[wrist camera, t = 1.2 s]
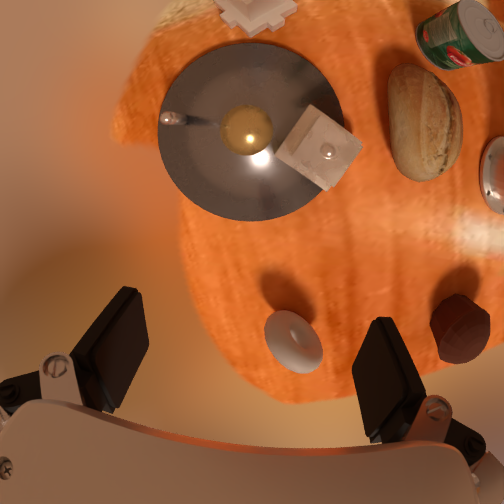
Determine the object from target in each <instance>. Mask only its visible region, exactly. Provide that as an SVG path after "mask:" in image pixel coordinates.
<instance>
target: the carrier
mask: <svg viewBox="0 0 504 504" xmlns="http://www.w3.org/2000/svg"><path fill="white" fill-rule="evenodd" d="M158 143H159V149H160V153H161V157H162V160H163V163H164V165H165V168H166V170H167V172H168V174H169V175H170V177H171V179H172V180H173V182H174V183H175V184H176V186H177V187H178V188H179V189H180V191H181V192H182V193H183V194H184V195H185V196H186V197H188V198H189V199H190V200H191V201H192V202H194V203H195V204H196V205H198V206H200V207H201V208H203V209H204V210H206V211H209V212H211V213H213V214H215V215H218V216H221V217H224V218H228V219H232V220H238V221H264V220H270V219H274V218H278V217H281V216H284V215H287V214H289V213H291V212H294V211H296V210H297V209H299V208H301V207H303V206H304V205H306V204H307V203H308V202H310V201H311V200H312V199H313V198H315V197H316V196H317V195H318V194H319V193H320V192H321V191H322V190H323V189H324V190H325V191H326V192H327V191H328V190H329V188H330V187H331V185H332V186H333V187H334V186H335V185H336V184H337V182H338V181H339V180H340V178H341V177H342V176H343V174H344V173H345V171H346V170H347V169H348V167H349V166H350V164H351V163H352V162H353V160H354V159H355V157H356V156H357V155H358V153H359V152H360V150H361V149H362V148H363V146H361V144H362V142H361V141H360V140H359V139H357V138H356V137H355V136H353V135H352V134H351V133H350V132H348V131H347V130H346V129H344V120H343V114H342V110H341V107H340V104H339V101H338V98H337V96H336V94H335V92H334V90H333V88H332V87H331V85H330V84H329V82H328V81H327V79H326V78H325V77H324V76H323V75H322V74H321V73H320V71H319V70H318V69H317V68H315V67H314V66H313V65H312V64H311V63H310V62H308V61H307V60H305V59H304V58H302V57H301V56H299V55H297V54H295V53H293V52H291V51H289V50H286V49H284V48H280V47H277V46H274V45H268V44H262V43H241V44H234V45H229V46H225V47H222V48H219V49H216V50H214V51H211V52H209V53H207V54H205V55H204V56H202V57H200V58H199V59H197V60H196V61H194V62H193V63H192V64H190V65H189V66H188V67H187V68H186V69H185V70H184V71H183V72H182V73H181V74H180V75H179V76H178V78H177V79H176V80H175V81H174V83H173V84H172V86H171V87H170V89H169V91H168V93H167V95H166V97H165V99H164V101H163V104H162V108H161V111H160V115H159V121H158Z"/></svg>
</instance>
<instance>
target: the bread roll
mask: <svg viewBox="0 0 504 504" xmlns="http://www.w3.org/2000/svg"><path fill="white" fill-rule="evenodd" d="M388 111H389V127H390V142H391V150H392V155H393V159H394V162H395V164H396V166H397V169H398V170H399V171H400V172H401V173H402V174H403V175H404V176H406V177H407V178H409V179H411V180H414V181H417V182H423V181H429V180H432V179H434V178H436V177H438V176H439V175H442V174H443V173H444V172H446V171H447V170H448V169H449V168H450V167H452V165H453V164H454V163H455V162H456V160H457V158H458V156H459V154H460V151H461V146H462V140H463V122H462V114H461V110H460V107H459V104H458V101H457V100H456V98H455V96H454V94H453V93H452V92H451V90H450V89H449V88H448V87H447V85H446V84H445V83H444V82H442V81H441V80H440V79H439V78H438V77H437V76H436V75H435V74H434V73H433V72H429V71H427V70H425V69H423V68H421V67H419V66H417V65H414V64H410V63H404V64H400V65H398V66H397V67H395V68H394V69H393V70H392V72H391V74H390V77H389V80H388Z"/></svg>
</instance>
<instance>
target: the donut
mask: <svg viewBox="0 0 504 504" xmlns="http://www.w3.org/2000/svg"><path fill="white" fill-rule="evenodd" d="M264 331H265V339H266V342H267V345H268V347H269V349H270V351H271V352H272V354H273V356H274V357H275V358H276V359H277V360H278V361H279V362H280V363H281V364H282V365H283V366H285V367H286V368H287V369H289V370H291V371H294V372H296V373H310V372H312V371H313V370H315V369H317V368H318V367H319V365H320V363H321V361H322V358H323V349H322V345H321V342H320V340H319V338H318V336H317V334H316V332H315V331H314V329H313V328H312V327H311V326H310V325H309V323H308V322H307V321H305V320H304V319H303V318H302V317H301V316H299V315H297V314H296V313H294V312H291V311H288V310H280V311H276V312H274V313H273V314H271V315H270V316H269V317H268V318H267V321H266V324H265V327H264Z"/></svg>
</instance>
